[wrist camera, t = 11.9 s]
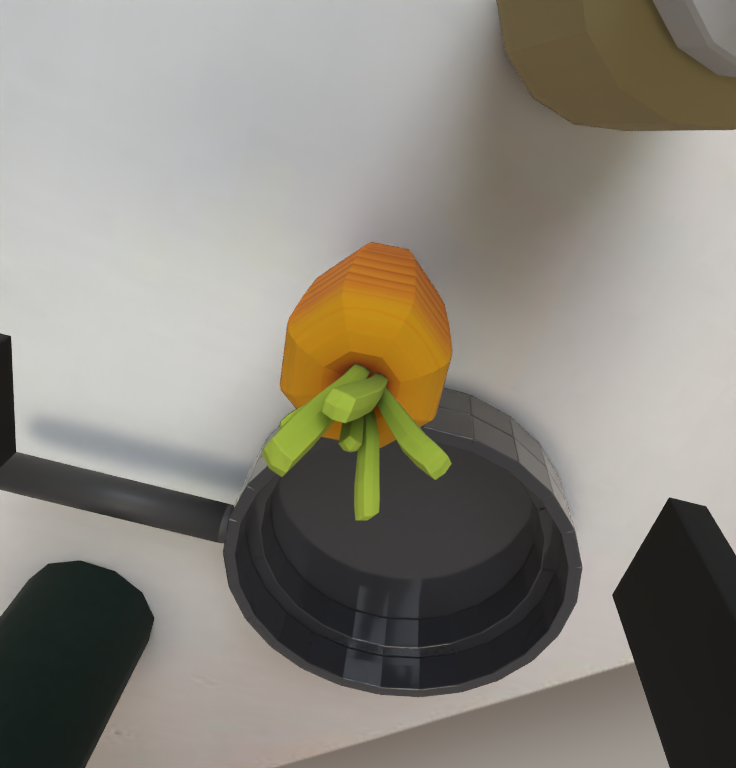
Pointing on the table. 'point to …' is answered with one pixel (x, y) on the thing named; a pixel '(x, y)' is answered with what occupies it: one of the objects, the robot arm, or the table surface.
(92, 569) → the wine bottle
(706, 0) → the squeeze bottle
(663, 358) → the table surface
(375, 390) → the carrot
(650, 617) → the robot arm
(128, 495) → the pan handle
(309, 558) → the pan
